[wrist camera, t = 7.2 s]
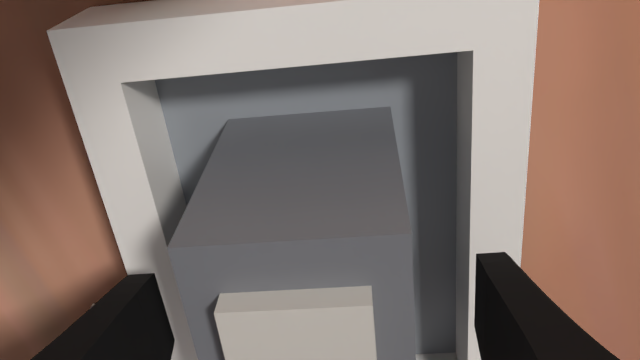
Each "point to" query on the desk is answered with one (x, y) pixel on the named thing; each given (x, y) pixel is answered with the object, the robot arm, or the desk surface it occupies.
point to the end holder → (307, 97)
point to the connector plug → (299, 242)
